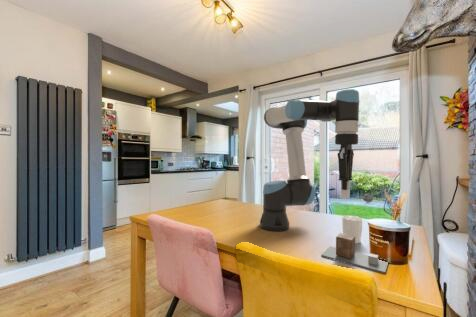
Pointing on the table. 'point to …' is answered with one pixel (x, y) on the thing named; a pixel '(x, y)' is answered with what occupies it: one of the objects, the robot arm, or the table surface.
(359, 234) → the white cup
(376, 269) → the stand
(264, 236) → the table surface
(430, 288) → the table surface
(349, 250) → the brown wooden block
